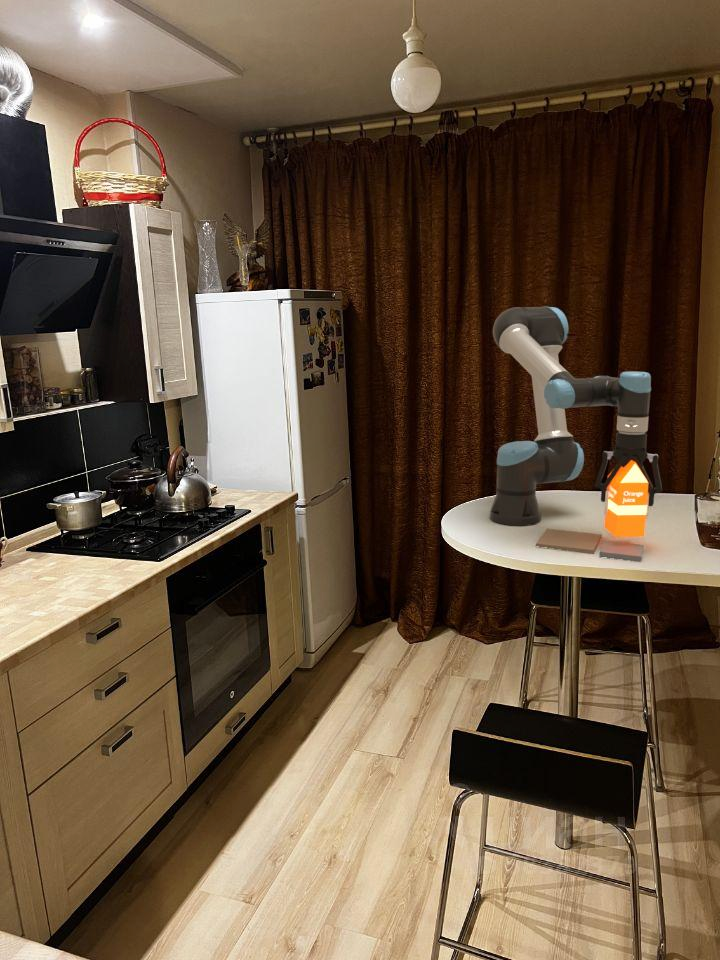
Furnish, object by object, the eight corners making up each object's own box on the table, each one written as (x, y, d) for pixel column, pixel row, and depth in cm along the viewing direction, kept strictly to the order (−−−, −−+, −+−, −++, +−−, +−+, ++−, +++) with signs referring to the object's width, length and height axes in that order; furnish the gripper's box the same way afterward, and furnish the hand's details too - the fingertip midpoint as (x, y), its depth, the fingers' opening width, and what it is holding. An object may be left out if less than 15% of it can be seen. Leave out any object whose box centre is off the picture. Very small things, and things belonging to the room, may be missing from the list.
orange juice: (615, 537, 191) (620, 462, 186) (603, 527, 199) (608, 455, 195) (645, 536, 191) (651, 462, 186) (632, 526, 199) (637, 455, 195)
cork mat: (535, 546, 196) (535, 543, 196) (546, 531, 209) (547, 528, 209) (593, 553, 190) (593, 550, 190) (601, 537, 203) (601, 534, 203)
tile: (603, 547, 196) (599, 559, 187) (604, 540, 196) (599, 551, 187) (643, 552, 192) (640, 563, 183) (643, 545, 192) (641, 556, 183)
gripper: (585, 432, 190) (581, 514, 195) (677, 436, 181) (670, 523, 186) (589, 427, 197) (585, 508, 202) (678, 432, 188) (671, 516, 193)
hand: (626, 515), depth 194 cm, fingers closed on orange juice, 9 cm apart
